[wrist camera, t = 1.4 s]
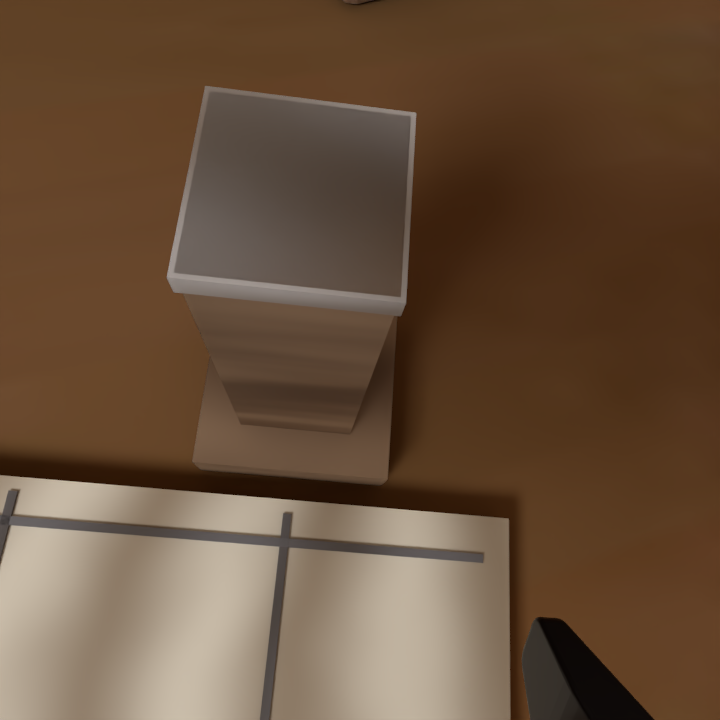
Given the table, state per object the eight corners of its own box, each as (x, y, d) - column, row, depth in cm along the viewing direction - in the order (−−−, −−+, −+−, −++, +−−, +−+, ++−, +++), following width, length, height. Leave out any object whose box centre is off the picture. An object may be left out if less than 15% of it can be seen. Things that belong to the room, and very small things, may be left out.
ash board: (498, 520, 23) (509, 518, 22) (499, 757, 21) (511, 769, 19) (-199, 461, 22) (-229, 455, 20) (-295, 710, 19) (-336, 720, 18)
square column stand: (380, 485, 23) (482, 386, 10) (201, 470, 23) (64, 344, 10) (391, 322, 26) (485, 67, 12) (227, 304, 25) (146, 22, 12)
